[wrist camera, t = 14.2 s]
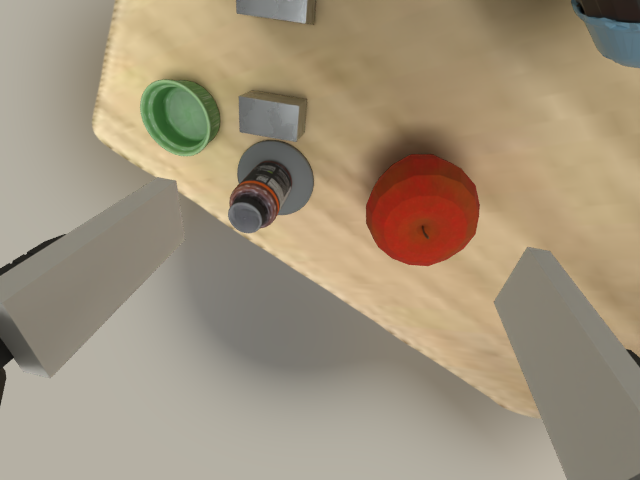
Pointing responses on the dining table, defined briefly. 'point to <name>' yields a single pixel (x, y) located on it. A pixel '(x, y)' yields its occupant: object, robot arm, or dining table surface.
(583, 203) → the dining table surface
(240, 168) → the coaster
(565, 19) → the dining table surface
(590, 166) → the dining table surface
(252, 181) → the supplement bottle
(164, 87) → the ramekin
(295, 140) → the vise
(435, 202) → the apple
